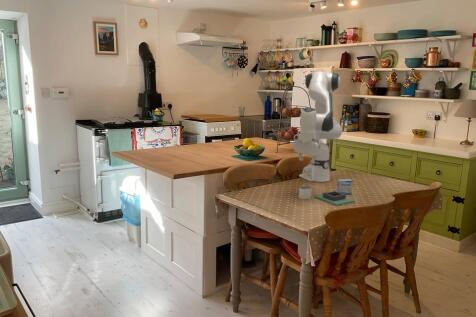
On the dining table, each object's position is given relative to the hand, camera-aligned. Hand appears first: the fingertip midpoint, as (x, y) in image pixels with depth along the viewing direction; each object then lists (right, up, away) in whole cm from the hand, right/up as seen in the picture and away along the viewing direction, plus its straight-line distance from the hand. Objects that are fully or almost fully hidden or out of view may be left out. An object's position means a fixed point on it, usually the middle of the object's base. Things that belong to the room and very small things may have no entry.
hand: (306, 161), depth 220 cm
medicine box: (+25, -19, +13) cm, 34 cm away
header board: (+16, -22, +1) cm, 27 cm away
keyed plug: (0, -21, +4) cm, 21 cm away
